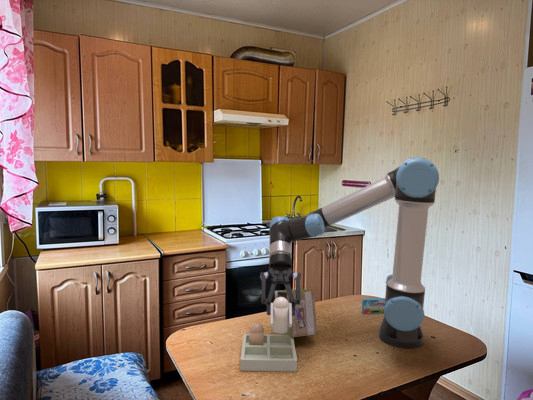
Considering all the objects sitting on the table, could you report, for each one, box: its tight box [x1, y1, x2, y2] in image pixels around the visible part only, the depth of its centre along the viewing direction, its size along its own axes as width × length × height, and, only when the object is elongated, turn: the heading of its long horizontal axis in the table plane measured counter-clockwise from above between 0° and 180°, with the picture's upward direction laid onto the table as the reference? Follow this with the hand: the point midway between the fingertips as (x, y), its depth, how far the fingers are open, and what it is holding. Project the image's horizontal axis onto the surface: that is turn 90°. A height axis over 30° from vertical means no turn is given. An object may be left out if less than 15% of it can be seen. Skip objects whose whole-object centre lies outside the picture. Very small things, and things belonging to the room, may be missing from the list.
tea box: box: [274, 288, 318, 338], centre depth 135 cm, size 15×10×15 cm
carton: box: [240, 322, 298, 373], centre depth 120 cm, size 17×17×9 cm
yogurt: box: [361, 297, 385, 315], centre depth 157 cm, size 12×2×6 cm, turn 98°
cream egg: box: [271, 297, 289, 335], centre depth 115 cm, size 5×5×10 cm
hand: (281, 325), depth 112 cm, fingers closed on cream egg, 5 cm apart
